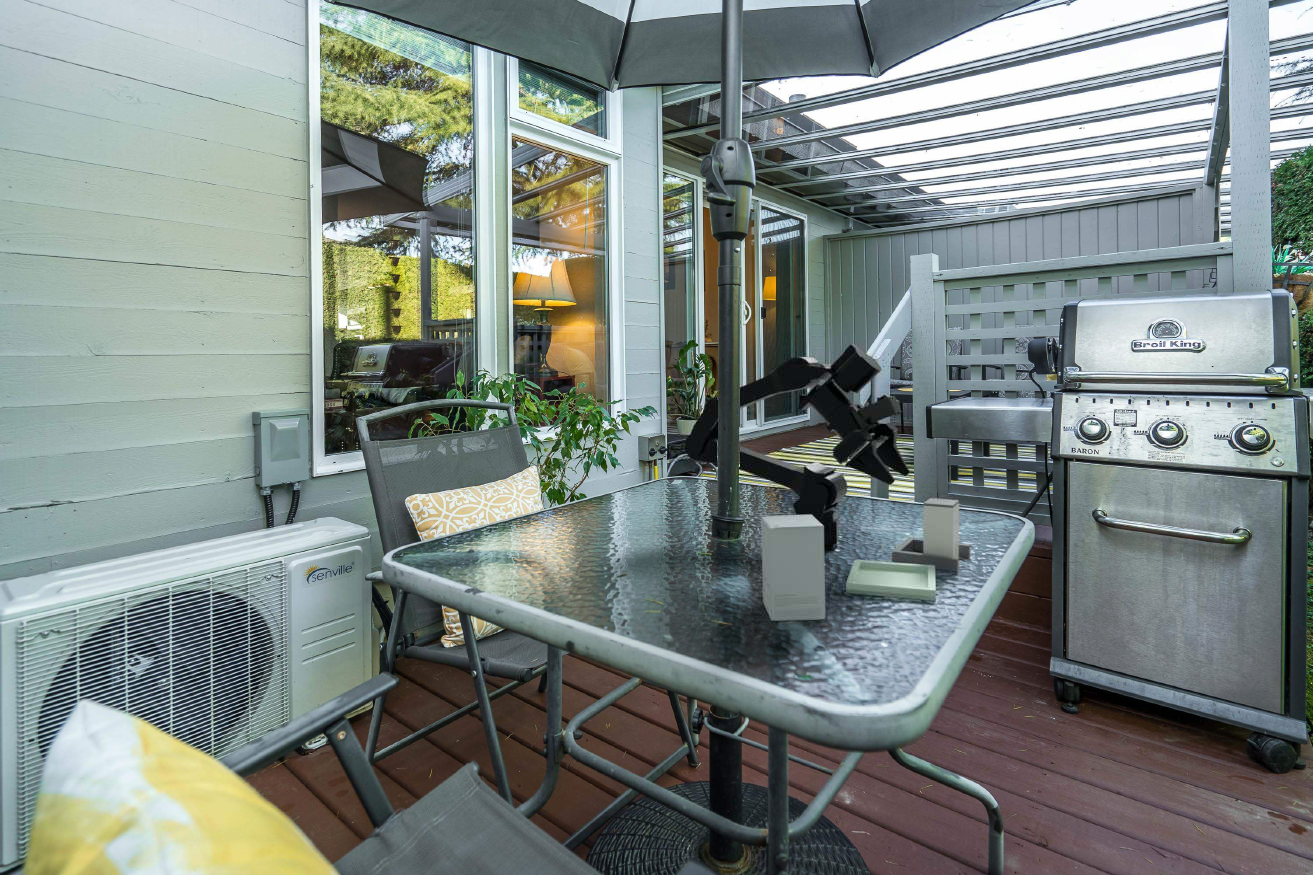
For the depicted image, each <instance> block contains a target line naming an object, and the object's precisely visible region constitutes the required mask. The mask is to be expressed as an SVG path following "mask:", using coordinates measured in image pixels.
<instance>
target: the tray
mask: <svg viewBox="0 0 1313 875" xmlns="http://www.w3.org/2000/svg"><path fill="white" fill-rule="evenodd" d="M936 587H937V586H936V569H935V565H922V564H908V563H893V562H892V561H891V562H890V561H877V560H875V561H874V560H863V559H862V560H861V559H854V561H853V563H852V566H851V569H850V571H849V573H848V577H847V580H846V583H845V590H846V591H845V593H846V594H853V595H863V596H864V595H866V596H867V595H868V596H878V597H887V598H898V599H910V600H919V601H920V600H921V601H933V602H936V601H937V599H936V598H937V596H936V595H937V593H936V592H937V590H936Z"/></svg>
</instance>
